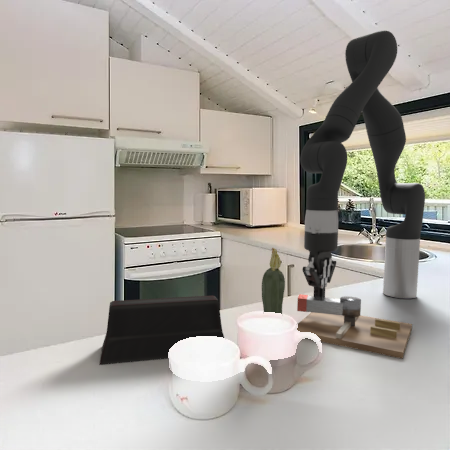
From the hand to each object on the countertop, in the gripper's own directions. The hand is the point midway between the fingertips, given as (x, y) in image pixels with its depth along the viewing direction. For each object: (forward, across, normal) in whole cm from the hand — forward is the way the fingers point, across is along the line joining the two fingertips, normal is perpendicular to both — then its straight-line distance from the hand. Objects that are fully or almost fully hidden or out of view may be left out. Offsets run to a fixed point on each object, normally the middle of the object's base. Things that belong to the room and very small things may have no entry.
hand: (319, 302), depth 92 cm
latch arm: (+1, +2, +3) cm, 4 cm away
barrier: (+5, +35, -15) cm, 38 cm away
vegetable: (+5, +22, +1) cm, 22 cm away
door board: (+5, +1, +9) cm, 10 cm away
